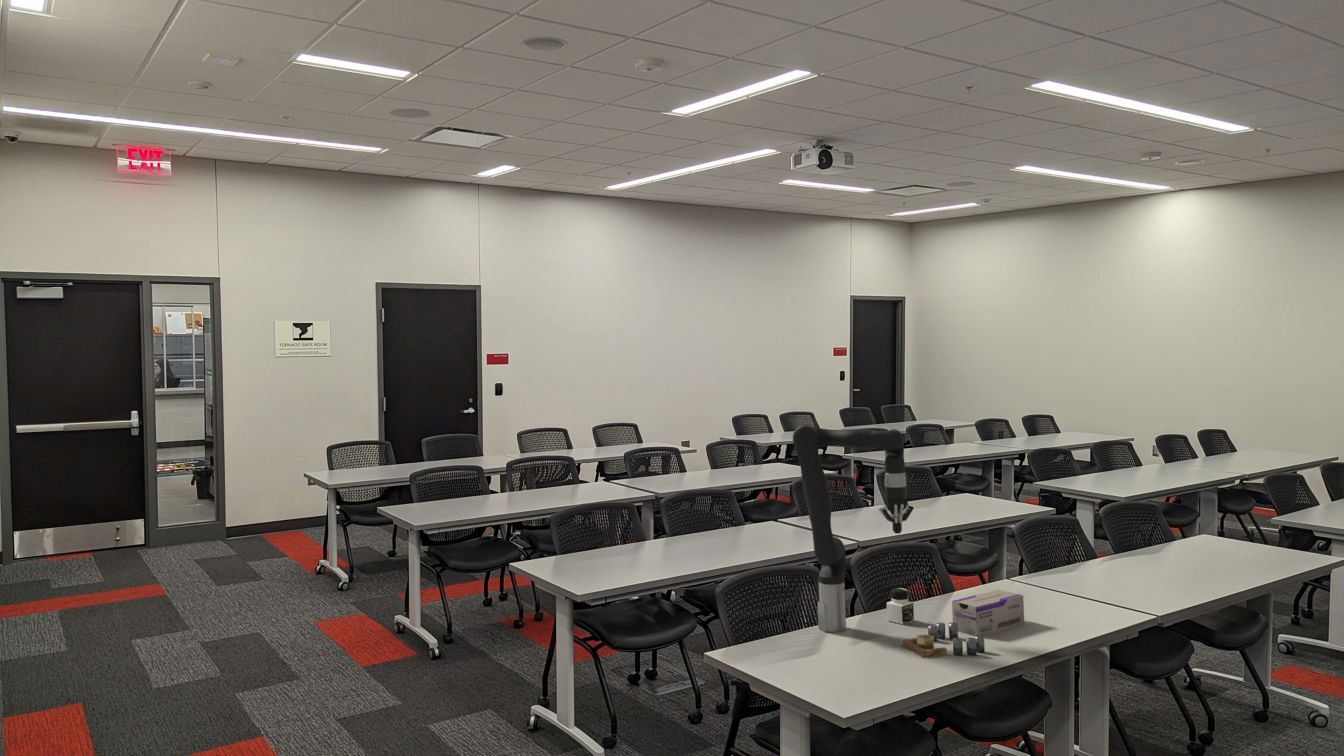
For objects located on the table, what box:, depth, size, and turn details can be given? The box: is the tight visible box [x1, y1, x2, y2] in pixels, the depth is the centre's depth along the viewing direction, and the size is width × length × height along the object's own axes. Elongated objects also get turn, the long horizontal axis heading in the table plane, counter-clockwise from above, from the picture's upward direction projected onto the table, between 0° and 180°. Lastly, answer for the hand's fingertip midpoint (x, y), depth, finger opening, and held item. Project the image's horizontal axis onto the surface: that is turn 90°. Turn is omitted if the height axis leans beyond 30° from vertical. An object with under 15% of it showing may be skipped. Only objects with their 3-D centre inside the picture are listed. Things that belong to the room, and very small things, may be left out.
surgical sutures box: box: [951, 589, 1025, 637], centre depth 317 cm, size 25×11×11 cm, turn 121°
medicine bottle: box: [886, 587, 915, 625], centre depth 329 cm, size 7×7×12 cm
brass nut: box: [916, 634, 935, 650], centre depth 294 cm, size 6×5×4 cm
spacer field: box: [927, 621, 986, 657], centre depth 297 cm, size 11×22×5 cm, turn 13°
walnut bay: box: [901, 637, 948, 659], centre depth 295 cm, size 8×14×2 cm, turn 13°
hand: (897, 533), depth 318 cm, fingers closed
